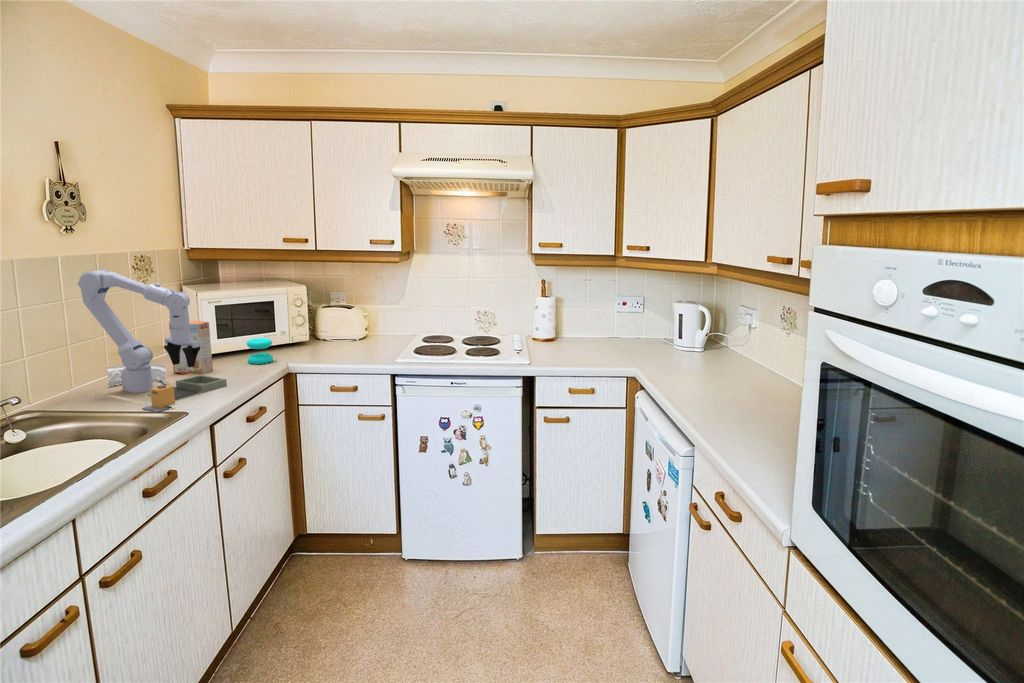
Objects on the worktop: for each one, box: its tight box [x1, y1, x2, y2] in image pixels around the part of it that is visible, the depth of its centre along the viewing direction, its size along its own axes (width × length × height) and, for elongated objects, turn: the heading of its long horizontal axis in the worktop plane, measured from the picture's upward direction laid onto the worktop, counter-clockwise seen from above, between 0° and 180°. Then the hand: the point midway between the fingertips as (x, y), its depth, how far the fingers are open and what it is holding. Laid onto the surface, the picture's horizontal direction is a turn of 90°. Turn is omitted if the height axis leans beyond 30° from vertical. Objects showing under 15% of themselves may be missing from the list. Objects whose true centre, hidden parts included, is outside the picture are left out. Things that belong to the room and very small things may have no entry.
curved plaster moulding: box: [106, 363, 169, 388], centre depth 208 cm, size 11×20×8 cm, turn 113°
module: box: [149, 384, 176, 409], centre depth 185 cm, size 4×5×7 cm
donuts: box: [246, 337, 274, 365], centre depth 246 cm, size 10×10×10 cm
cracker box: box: [168, 320, 214, 375], centre depth 225 cm, size 14×6×21 cm, turn 74°
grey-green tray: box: [148, 374, 228, 402], centre depth 201 cm, size 13×20×4 cm, turn 157°
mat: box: [141, 404, 173, 413], centre depth 185 cm, size 7×8×1 cm
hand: (183, 365), depth 202 cm, fingers open, 7 cm apart
